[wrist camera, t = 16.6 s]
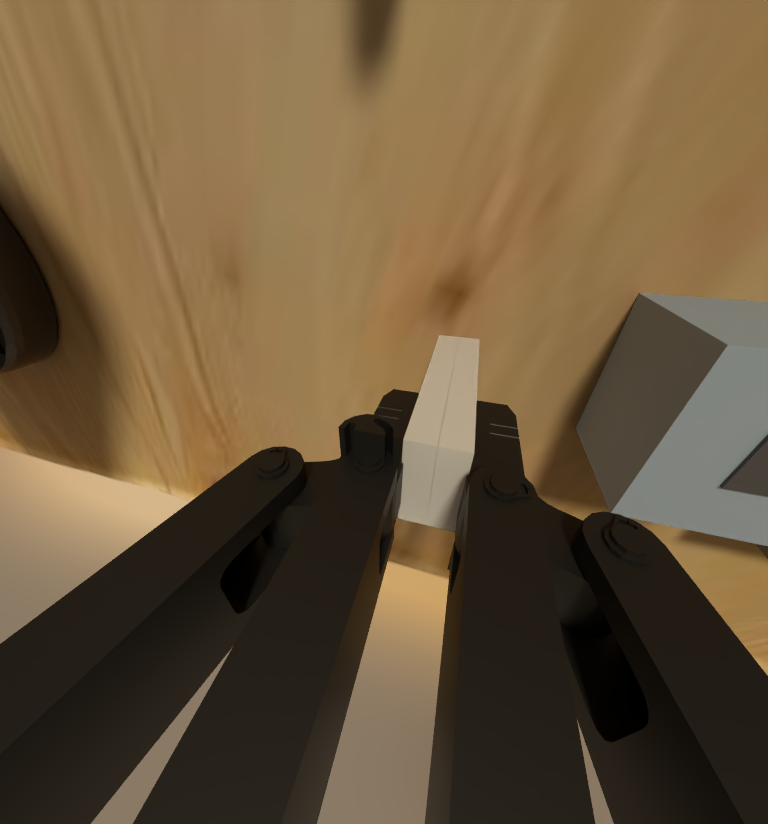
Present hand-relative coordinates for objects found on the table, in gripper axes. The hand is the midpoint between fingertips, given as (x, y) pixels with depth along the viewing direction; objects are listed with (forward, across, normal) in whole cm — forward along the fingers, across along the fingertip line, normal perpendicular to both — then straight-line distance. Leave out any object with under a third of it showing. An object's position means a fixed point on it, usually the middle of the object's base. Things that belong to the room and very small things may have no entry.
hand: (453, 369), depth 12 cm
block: (+2, +9, 0) cm, 9 cm away
